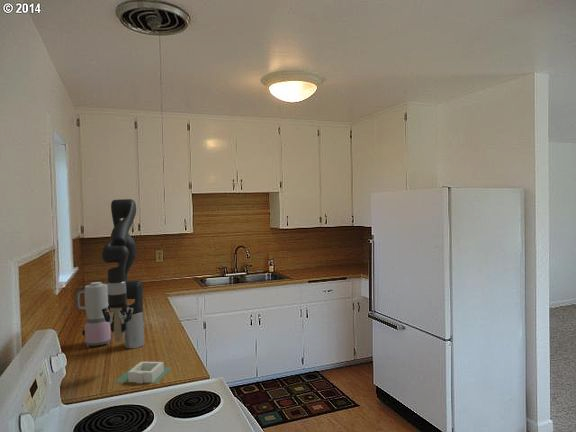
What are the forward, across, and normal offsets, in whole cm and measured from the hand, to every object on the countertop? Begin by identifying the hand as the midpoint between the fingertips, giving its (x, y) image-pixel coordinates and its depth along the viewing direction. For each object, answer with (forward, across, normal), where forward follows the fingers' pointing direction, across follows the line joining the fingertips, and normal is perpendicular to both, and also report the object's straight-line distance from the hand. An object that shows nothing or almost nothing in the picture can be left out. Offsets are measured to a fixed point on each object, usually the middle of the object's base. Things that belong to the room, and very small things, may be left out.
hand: (118, 331), depth 181 cm
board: (+17, -14, +6) cm, 23 cm away
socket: (+16, -16, +8) cm, 24 cm away
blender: (+18, +31, -32) cm, 48 cm away
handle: (+4, 0, 0) cm, 4 cm away
